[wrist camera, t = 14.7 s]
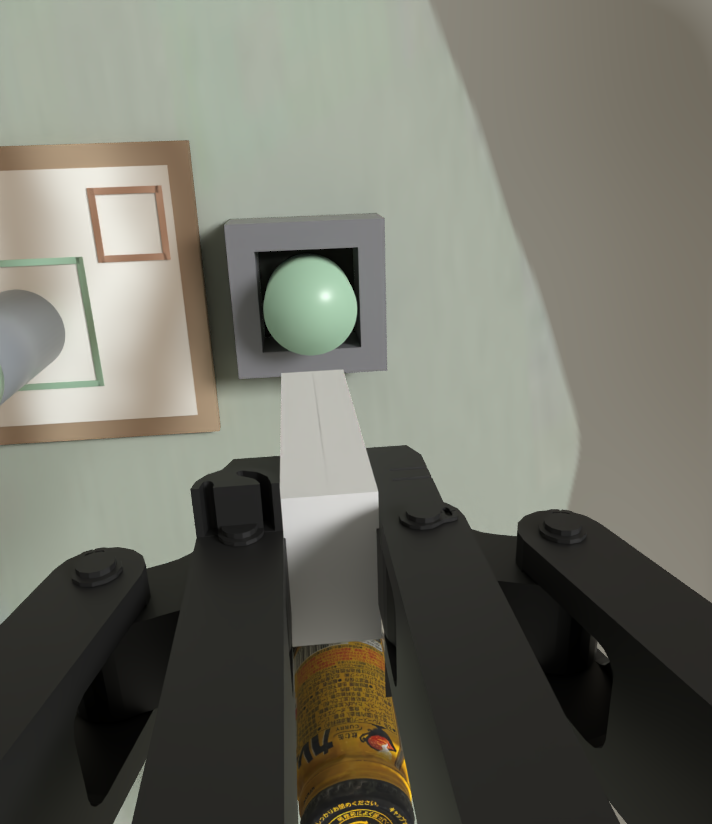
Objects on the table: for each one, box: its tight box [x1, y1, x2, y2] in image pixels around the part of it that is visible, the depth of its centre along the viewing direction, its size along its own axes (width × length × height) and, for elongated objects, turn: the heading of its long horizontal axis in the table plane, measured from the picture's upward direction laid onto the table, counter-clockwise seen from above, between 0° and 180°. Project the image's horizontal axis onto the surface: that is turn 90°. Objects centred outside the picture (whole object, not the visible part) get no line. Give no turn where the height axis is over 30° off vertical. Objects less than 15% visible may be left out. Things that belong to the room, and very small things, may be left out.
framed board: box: [0, 140, 221, 445], centre depth 32 cm, size 18×14×1 cm
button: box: [263, 254, 357, 355], centre depth 30 cm, size 4×4×3 cm
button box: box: [224, 213, 387, 379], centre depth 32 cm, size 7×7×3 cm
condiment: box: [293, 619, 415, 824], centre depth 36 cm, size 7×8×12 cm
